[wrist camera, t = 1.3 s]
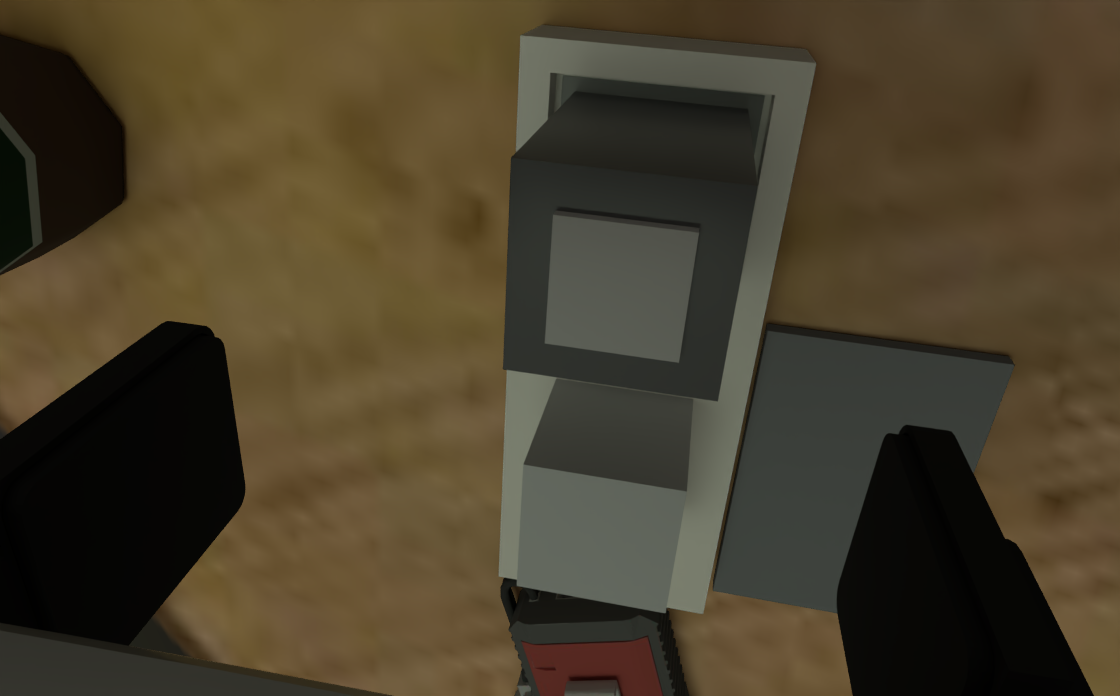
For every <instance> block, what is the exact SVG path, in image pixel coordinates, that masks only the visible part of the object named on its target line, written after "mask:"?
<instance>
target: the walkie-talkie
mask: <svg viewBox="0 0 1120 696" xmlns="http://www.w3.org/2000/svg"><path fill="white" fill-rule="evenodd" d="M512 586H517V580H516V579H510V578H505V577H504V579H503V583H502V585H501V599H502V602H503V605H504V608H505V611H506V614H507V617H508V619H509V622H510V627H509V631H510V632H511V634H512V637H511V638H512V640H513V641H514V642H515V649H516V650H517V651H518V653H519V654H518V658H519V659H520V660H521V662H522V664H521V666H522V671H521V674H520V678H519V681H518V685H517V686H518V690H517V692H516V694H515V696H689V694H688V690H687V686H686V682H684V673H682V665H680V657H679V656H678V648H677V647H675V644H676V640H675V638H673V633H674V632H673V629H671V620H669V611H667V610H666V613H660V612H655V611H650V610H644V609H639V608H634V607H628V606H623V605H617V604H612V603H607V602H601V601H596V600H590V599H585V598H580V597H574V596H569V595H563V594H558V593H553V592H547V591H542V590H537V589H531V588H526V587H522V588H523V589H522V590H521V591H520V595H519V598H518V601H517V604H516V601H515V598H514V595H513V592H512V589H511V587H512ZM518 587H520V586H518ZM666 609H667V608H666Z"/></svg>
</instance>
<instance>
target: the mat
mask: <svg viewBox="0 0 1120 696" xmlns="http://www.w3.org/2000/svg"><path fill="white" fill-rule="evenodd" d="M1014 366H1015V365H1014V363H1013V362H1012V360H1011V359H1010V357H1009V356H1002V355H994V354H987V353H980V352H972V351H965V350H958V349H950V348H943V347H936V346H928V345H921V344H914V343H906V342H899V341H892V340H884V339H877V338H870V337H862V336H855V335H848V334H840V333H833V332H826V331H818V330H811V329H804V328H796V327H789V326H782V325H774V324H767V325H766V330H765V335H764V339H763V344H762V349H761V354H760V359H759V363H758V368H757V373H756V378H755V383H754V387H753V392H752V397H751V402H750V406H749V411H748V416H747V421H746V426H745V430H744V435H743V440H742V445H741V450H740V454H739V459H738V464H737V469H736V474H735V478H734V483H733V488H732V493H731V498H730V502H729V507H728V512H727V517H726V522H725V526H724V531H723V536H722V541H721V545H720V550H719V555H718V560H717V565H716V569H715V574H714V579H713V591H717V592H723V593H728V594H734V595H739V596H745V597H750V598H756V599H762V600H767V601H773V602H778V603H784V604H789V605H795V606H800V607H806V608H811V609H817V610H822V611H828V612H834V613H837V589H838V584H839V580H840V577H841V574H842V570H843V567H844V564H845V561H846V558H847V554H848V551H849V548H850V545H851V541H852V538H853V535H854V532H855V528H856V525H857V522H858V519H859V516H860V512H861V509H862V506H863V503H864V499H865V496H866V493H867V490H868V486H869V483H870V480H871V477H872V474H873V470H874V467H875V464H876V461H877V457H878V454H879V451H880V448H881V444H882V442H883V439H884V437H885V436H886V434H888V433H893V434H899V431H900V430H901V428H902V427H903V426H905V425H913V426H920V427H927V428H935V429H942V430H948V431H952V432H953V434H954V435H955V437H956V439H957V441H958V443H959V445H960V447H961V449H962V451H963V453H964V455H965V457H966V459H967V461H968V464H969V466H970V468H971V470H972V472H973V473H974V471H975V468H976V465H977V463H978V460H979V458H980V455H981V452H982V450H983V447H984V444H985V442H986V439H987V437H988V434H989V431H990V429H991V426H992V423H993V421H994V418H995V416H996V413H997V410H998V408H999V405H1000V402H1001V400H1002V397H1003V394H1004V392H1005V389H1006V387H1007V384H1008V381H1009V379H1010V376H1011V373H1012V371H1013V368H1014Z"/></svg>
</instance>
